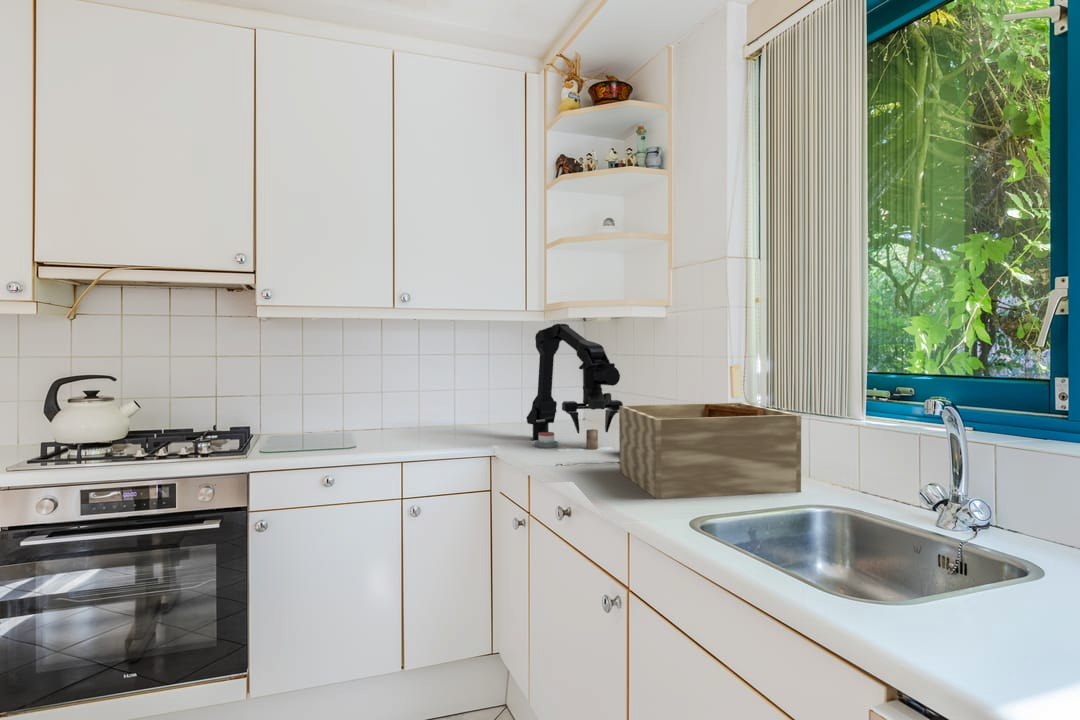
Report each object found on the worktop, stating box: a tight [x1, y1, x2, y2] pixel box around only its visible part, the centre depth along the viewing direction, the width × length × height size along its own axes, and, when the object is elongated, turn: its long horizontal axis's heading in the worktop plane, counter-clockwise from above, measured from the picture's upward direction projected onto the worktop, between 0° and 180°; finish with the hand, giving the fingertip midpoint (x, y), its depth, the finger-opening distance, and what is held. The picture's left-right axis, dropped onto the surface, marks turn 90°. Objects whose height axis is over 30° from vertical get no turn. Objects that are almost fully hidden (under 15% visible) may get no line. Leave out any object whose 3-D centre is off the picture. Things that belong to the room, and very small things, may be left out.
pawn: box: [585, 428, 599, 451], centre depth 194 cm, size 4×4×6 cm
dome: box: [538, 431, 555, 444], centre depth 200 cm, size 5×5×3 cm
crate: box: [618, 402, 802, 500], centre depth 154 cm, size 29×35×18 cm
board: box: [534, 440, 614, 453], centre depth 198 cm, size 15×24×2 cm, turn 99°
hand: (592, 432), depth 194 cm, fingers open, 9 cm apart
